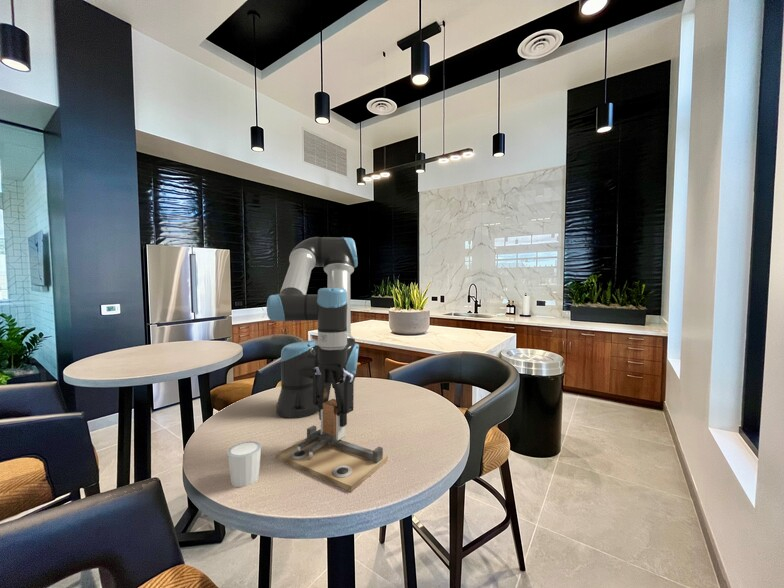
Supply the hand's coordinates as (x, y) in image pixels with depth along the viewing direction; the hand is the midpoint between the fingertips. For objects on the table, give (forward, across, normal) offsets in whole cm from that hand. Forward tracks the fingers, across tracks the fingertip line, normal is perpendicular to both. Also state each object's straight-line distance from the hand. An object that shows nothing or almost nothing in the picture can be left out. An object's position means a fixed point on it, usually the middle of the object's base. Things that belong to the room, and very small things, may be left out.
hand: (332, 434), depth 84 cm
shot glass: (+4, -8, -20) cm, 22 cm away
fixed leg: (+2, -4, -3) cm, 5 cm away
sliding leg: (+2, 0, -3) cm, 4 cm away
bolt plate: (+4, +3, -4) cm, 6 cm away
